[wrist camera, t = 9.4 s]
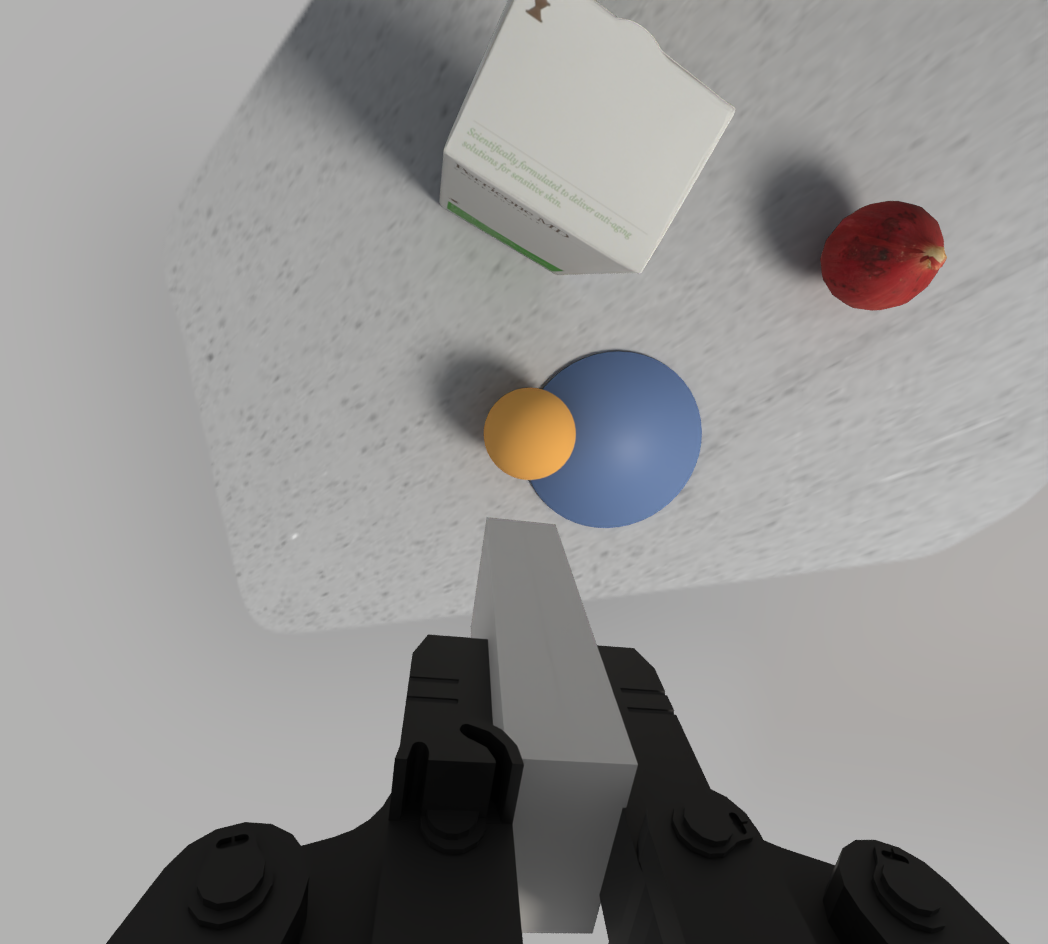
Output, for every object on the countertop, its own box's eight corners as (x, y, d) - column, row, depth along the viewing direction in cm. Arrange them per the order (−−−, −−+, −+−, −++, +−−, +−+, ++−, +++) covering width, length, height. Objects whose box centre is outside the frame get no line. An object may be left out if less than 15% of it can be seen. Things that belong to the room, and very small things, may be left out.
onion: (783, 298, 37) (867, 305, 30) (810, 200, 36) (906, 181, 28) (865, 312, 38) (966, 322, 31) (896, 217, 37) (1010, 203, 29)
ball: (462, 389, 35) (527, 385, 39) (466, 481, 36) (529, 468, 40) (530, 389, 31) (594, 385, 35) (532, 491, 32) (594, 477, 36)
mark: (720, 365, 38) (721, 365, 38) (677, 534, 42) (678, 535, 42) (538, 338, 37) (538, 339, 36) (510, 518, 40) (510, 519, 40)
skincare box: (436, 203, 34) (424, 150, 19) (492, 88, 32) (525, -67, 17) (562, 280, 36) (639, 285, 21) (620, 175, 34) (746, 101, 19)
